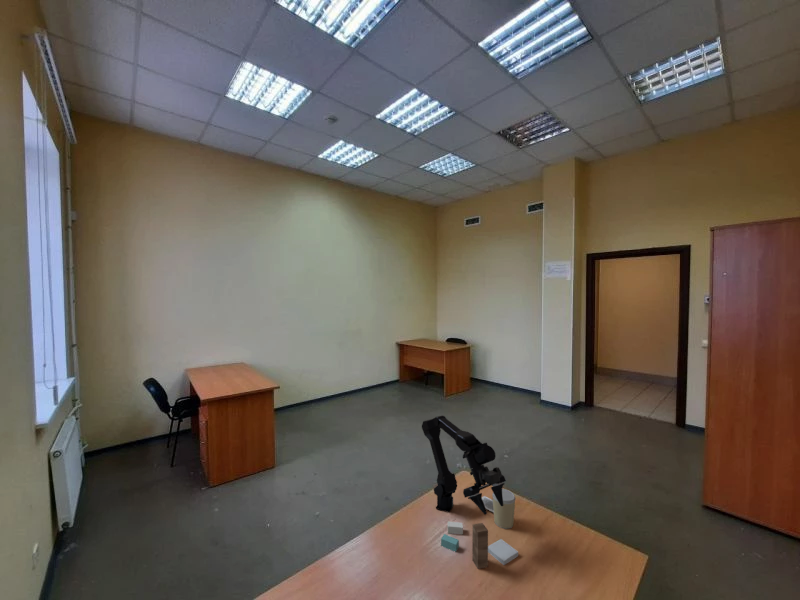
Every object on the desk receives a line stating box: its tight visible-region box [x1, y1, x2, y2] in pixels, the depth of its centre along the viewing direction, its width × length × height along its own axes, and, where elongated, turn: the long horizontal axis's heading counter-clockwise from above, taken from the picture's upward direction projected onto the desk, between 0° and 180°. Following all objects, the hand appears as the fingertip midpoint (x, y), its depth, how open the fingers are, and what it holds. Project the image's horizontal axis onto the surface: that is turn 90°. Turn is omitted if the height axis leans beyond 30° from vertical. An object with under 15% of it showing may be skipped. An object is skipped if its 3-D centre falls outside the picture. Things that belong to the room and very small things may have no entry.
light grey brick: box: [447, 521, 464, 535], centre depth 135 cm, size 6×3×3 cm, turn 83°
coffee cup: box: [491, 488, 516, 530], centre depth 140 cm, size 9×9×12 cm
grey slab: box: [488, 538, 519, 566], centre depth 123 cm, size 8×8×2 cm
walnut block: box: [471, 522, 489, 570], centre depth 118 cm, size 4×4×13 cm
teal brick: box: [440, 533, 460, 553], centre depth 127 cm, size 6×3×3 cm, turn 58°
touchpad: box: [482, 495, 494, 513], centre depth 150 cm, size 8×15×2 cm, turn 43°
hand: (494, 510), depth 126 cm, fingers open, 9 cm apart
